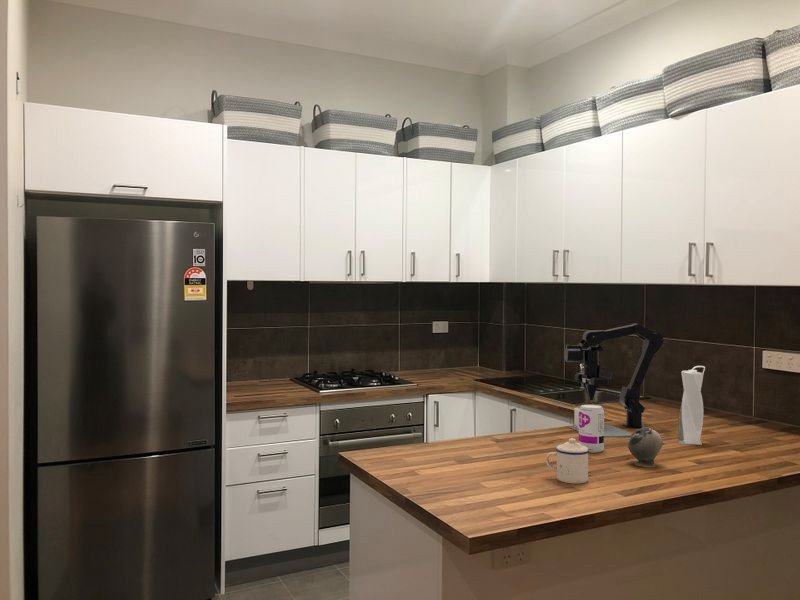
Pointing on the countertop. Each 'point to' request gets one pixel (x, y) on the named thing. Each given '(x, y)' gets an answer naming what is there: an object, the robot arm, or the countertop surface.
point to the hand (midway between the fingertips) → (591, 400)
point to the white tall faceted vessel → (691, 408)
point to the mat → (610, 431)
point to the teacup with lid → (571, 462)
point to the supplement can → (591, 427)
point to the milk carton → (576, 417)
